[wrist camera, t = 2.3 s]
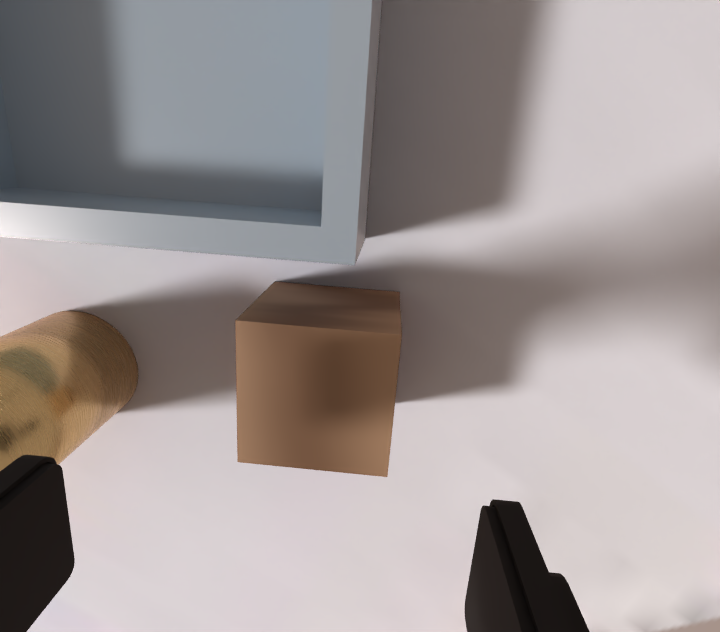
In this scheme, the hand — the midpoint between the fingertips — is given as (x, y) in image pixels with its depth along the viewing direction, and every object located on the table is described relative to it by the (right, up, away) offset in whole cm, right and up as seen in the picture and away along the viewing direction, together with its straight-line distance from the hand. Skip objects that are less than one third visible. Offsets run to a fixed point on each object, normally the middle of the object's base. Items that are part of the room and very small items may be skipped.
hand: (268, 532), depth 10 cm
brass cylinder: (-10, +3, +10) cm, 15 cm away
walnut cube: (+1, +4, +9) cm, 10 cm away
